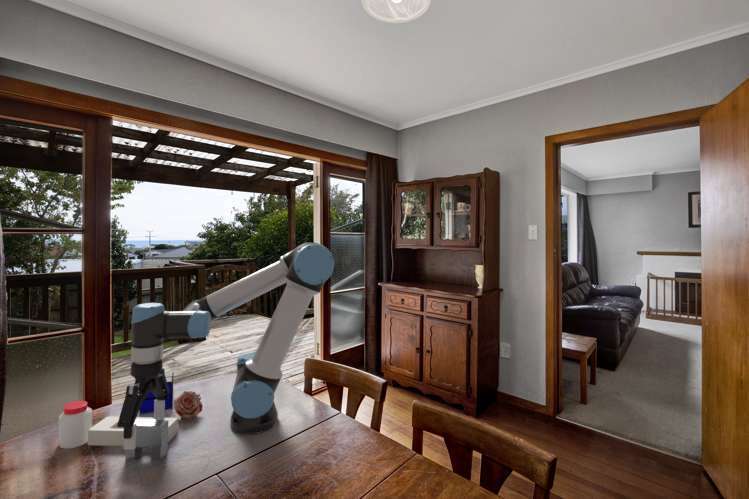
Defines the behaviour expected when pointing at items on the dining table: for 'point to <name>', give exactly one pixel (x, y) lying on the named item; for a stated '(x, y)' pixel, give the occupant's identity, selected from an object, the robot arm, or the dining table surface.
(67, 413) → the pill bottle
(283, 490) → the dining table surface
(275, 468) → the dining table surface
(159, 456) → the gray rectangular block
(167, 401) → the puzzle cube
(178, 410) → the flower
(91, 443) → the block with rectangular holes
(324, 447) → the dining table surface
